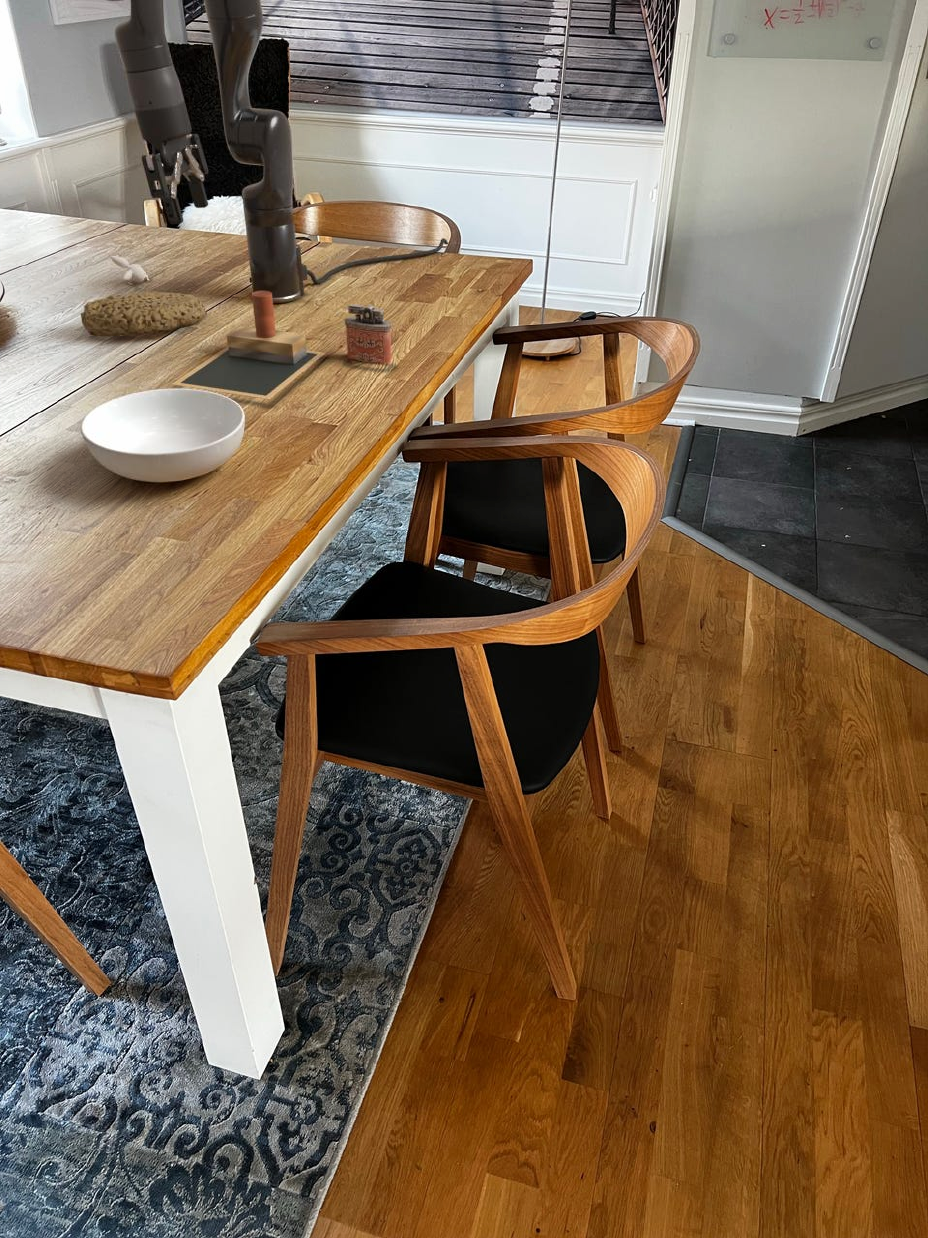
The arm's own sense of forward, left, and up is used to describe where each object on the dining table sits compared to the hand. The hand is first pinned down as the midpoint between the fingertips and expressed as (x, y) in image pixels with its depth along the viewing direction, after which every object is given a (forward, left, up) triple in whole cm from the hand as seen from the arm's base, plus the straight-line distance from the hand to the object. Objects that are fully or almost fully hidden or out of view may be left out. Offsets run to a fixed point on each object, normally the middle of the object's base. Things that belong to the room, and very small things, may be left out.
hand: (189, 214), depth 152 cm
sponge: (+2, -15, -22) cm, 27 cm away
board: (+2, +14, -22) cm, 26 cm away
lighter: (-15, +25, -22) cm, 36 cm away
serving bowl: (+29, +33, -22) cm, 49 cm away
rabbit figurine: (-11, -42, -22) cm, 49 cm away
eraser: (-4, +12, -21) cm, 24 cm away
